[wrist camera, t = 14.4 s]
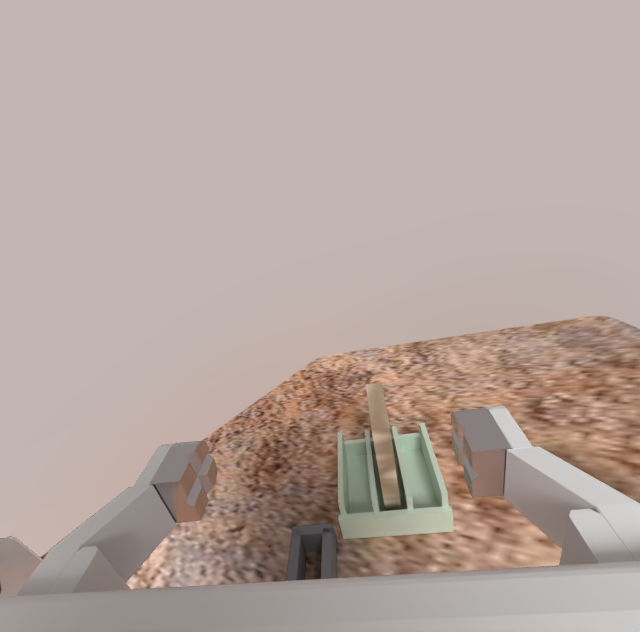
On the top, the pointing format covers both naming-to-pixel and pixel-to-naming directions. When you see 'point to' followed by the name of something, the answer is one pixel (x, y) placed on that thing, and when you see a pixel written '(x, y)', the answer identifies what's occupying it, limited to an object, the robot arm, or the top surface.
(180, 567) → the top surface
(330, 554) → the board stand
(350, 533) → the dish rack
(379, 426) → the maple board
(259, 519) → the top surface
